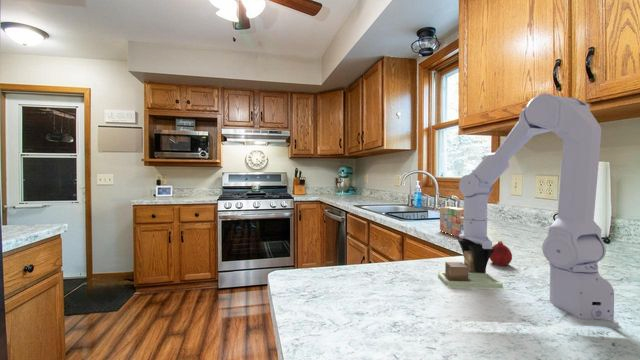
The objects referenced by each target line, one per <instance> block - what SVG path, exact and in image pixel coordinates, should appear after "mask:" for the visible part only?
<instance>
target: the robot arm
mask: <svg viewBox="0 0 640 360" xmlns="http://www.w3.org/2000/svg"><path fill="white" fill-rule="evenodd" d="M549 132H551V133H554V135H556V136H557V137H559V138H560V139H562V141H563V142H562V151H561V152H562V154H561V155H562V156H561V167H560V181H559V190H558V191H559V192H558V193H559V194H558V204H557V205H558V207H557V216H556V218H555V220H553V222H552V223H551V225H550V226H549V227H548V234H547V236H546V238H545V239H544V240H543V241H542V242H543V243H542V246H541V247H542V254H543V256H544V257H545V259H546V260H547V262H549V302H550V304H552V305H553V306H555V307H558V309H559V308H560V309H562V310H564V311H566V312H567V313H569V314H571V315H572V316H575V318H578V319H580V320H581V319H585V320H607V321H608V320H609V321H610V322H612V323H614V324H615V325H617V326H619V325H620V323H619V321H617V320H615V318H614V316H615V312H614V311H615V290H614V287H613V286H612V284H611V283H610V281H608V280H606V279H605V278H604V277H603V276H602V275H600V273H599V263H598V262H600V261H602V260H603V259H604V257H606V253H607V247H606V245H605V243H604V241H603V239H602V229H601V227H600V226H599V225H598V224H597V223H596V222H595V210H596V209H595V208H596V198H597V187H598V186H597V185H598V174H599V166H600V165H599V164H600V153H601V141H602V140H601V138H602V127H601V125H600V124H599V122H598V120H597V119H596V118H595V116H594V115H593V112H591V110H590V104H589V103H587V102H585V101H583V100H581V99H579V98H576V97H565V96H561V95H560V96H559V95H554V94H550V93H540V94H537V95H535V96H534V97H532V98H531V99H530V100H529V101H528V103H527V104H526V107H524V108H523V109H522V110H521V111H520V113H519V118H518V120H517V122H516V124H515V125H514V127H513V128H512V129H511V131H510V132H509V133H508V135H507V136H506V137H505V139H504V140H503V141H502V143H501V144H500V146H499V147H498V148H497V149H496V150H495V152H490V153H487V154H485V155H483V156H482V158H481V159H482V160H481V161H480V163H479V164H478V165H477V166H476V167H475V169H472V171H471V172H470V173H469V174H465V175H462V176H461V179H460V180H459V183H458V189H459V192H460V194H461V195H462V196H463V209H464V225H463V230H461V234H459V237H460V238H459V239H457V242H458V244H459V246H460V248H461V251H462V255H463V256H464V251H471V252H472V256H473V261H474V269H475V272H476V273H484V272H485V269H486V268H487V265H488V262H489V260H490V256H491V254H492V253H493V252H494V248H493V241H492V240H491V239H490V237H489V235H488V202H489V200H490V195H491V194H492V192H493V191H494V184H495V182H497V180H499V178H500V177H501V176H502V175H503V174H504V173H505V172H506V170H508V169H509V167H510V162H509V161H510V159H511V158H512V157H513V156H514V155H515V154H516V153H517V152H518V151H520V149H522V148H523V147H524V145H526V144H527V143H528V142H529V141H530V140H531V139H532V138H533V137H534V136H536V135H541V134H545V133H549ZM461 238H463V239H461ZM486 270H487V269H486Z"/></svg>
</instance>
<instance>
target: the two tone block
mask: <svg viewBox="0 0 640 360" xmlns="http://www.w3.org/2000/svg"><path fill="white" fill-rule="evenodd" d="M463 264H465V265H466V266H467V267H468V273H476V272H475V269H474V261H473V256H472V252H471V251H464V255H463ZM484 273H486V274H487V269H485V272H484Z"/></svg>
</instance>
